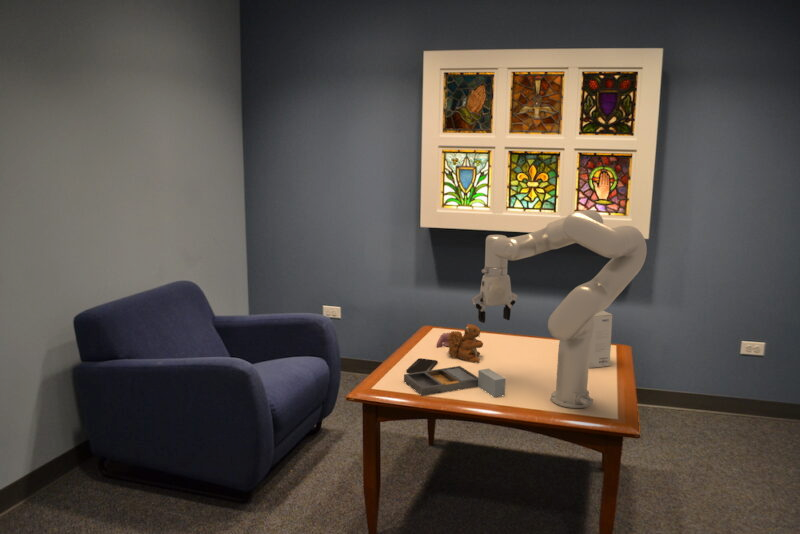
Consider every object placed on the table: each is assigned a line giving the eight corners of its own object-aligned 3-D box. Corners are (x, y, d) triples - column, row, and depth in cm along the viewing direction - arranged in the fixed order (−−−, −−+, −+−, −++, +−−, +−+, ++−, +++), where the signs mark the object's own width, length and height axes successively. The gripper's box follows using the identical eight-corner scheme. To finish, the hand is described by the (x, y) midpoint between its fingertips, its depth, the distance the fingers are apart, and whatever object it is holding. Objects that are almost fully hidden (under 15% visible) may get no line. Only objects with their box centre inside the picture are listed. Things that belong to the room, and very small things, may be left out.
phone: (438, 360, 232) (426, 373, 218) (438, 363, 232) (426, 376, 218) (418, 357, 234) (405, 370, 221) (418, 360, 235) (405, 373, 221)
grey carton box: (598, 360, 237) (602, 309, 233) (610, 366, 230) (614, 314, 226) (562, 363, 233) (565, 311, 229) (572, 370, 226) (576, 317, 222)
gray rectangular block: (504, 395, 201) (505, 378, 200) (494, 397, 200) (495, 380, 199) (487, 385, 210) (488, 368, 209) (477, 387, 209) (478, 370, 207)
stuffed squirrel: (480, 363, 231) (481, 329, 229) (443, 359, 235) (444, 326, 233) (484, 355, 241) (485, 322, 238) (448, 351, 245) (449, 319, 242)
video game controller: (461, 352, 248) (465, 336, 250) (456, 350, 244) (460, 333, 246) (439, 348, 253) (443, 332, 255) (434, 346, 250) (438, 329, 251)
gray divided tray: (480, 386, 209) (480, 378, 208) (422, 395, 200) (422, 387, 199) (459, 372, 221) (459, 365, 221) (403, 381, 212) (404, 373, 212)
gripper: (478, 275, 203) (477, 325, 206) (523, 271, 209) (521, 320, 212) (468, 271, 209) (466, 320, 212) (511, 268, 216) (510, 315, 219)
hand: (494, 320), depth 212 cm, fingers open, 9 cm apart
